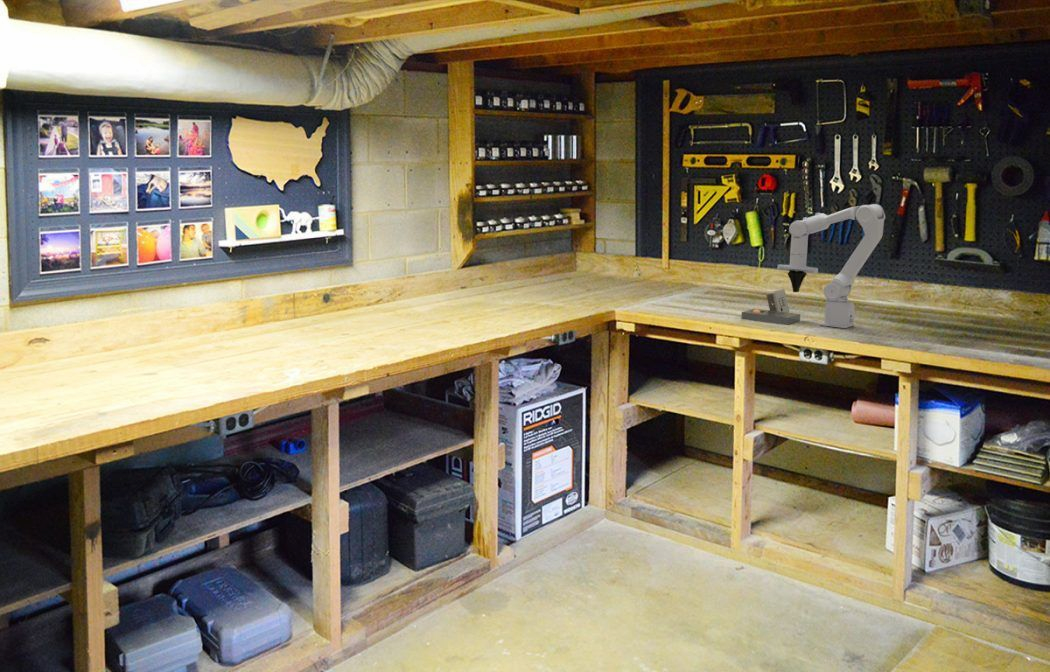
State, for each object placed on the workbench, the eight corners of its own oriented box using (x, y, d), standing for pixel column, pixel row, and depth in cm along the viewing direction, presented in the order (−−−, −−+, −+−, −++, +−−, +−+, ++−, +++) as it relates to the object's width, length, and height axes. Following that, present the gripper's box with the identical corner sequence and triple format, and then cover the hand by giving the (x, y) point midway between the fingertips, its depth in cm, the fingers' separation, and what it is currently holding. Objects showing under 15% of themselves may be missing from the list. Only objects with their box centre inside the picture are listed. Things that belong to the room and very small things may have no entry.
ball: (752, 312, 351) (758, 319, 350) (748, 313, 348) (754, 320, 347) (758, 307, 349) (764, 314, 348) (754, 308, 346) (760, 315, 345)
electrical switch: (779, 316, 353) (778, 291, 351) (766, 316, 356) (765, 291, 355) (789, 313, 360) (789, 288, 359) (776, 313, 363) (776, 288, 362)
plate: (799, 321, 343) (800, 314, 342) (787, 324, 335) (788, 317, 335) (754, 315, 354) (754, 308, 354) (741, 318, 347) (741, 312, 346)
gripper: (822, 254, 338) (819, 292, 341) (784, 251, 347) (782, 288, 350) (814, 256, 333) (811, 294, 335) (775, 253, 342) (773, 290, 344)
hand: (795, 291), depth 342 cm, fingers closed
